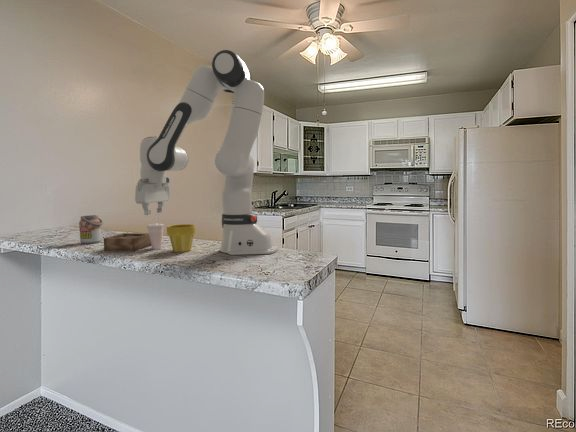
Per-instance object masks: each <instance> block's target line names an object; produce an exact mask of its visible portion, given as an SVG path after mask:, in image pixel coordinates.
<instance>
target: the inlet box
mask: <svg viewBox="0 0 576 432" xmlns="http://www.w3.org/2000/svg"><path fill="white" fill-rule="evenodd" d="M102 240H103V251H104V252H138V251H140V250H143V249H145V248H148V247H152V246H151V241H150V235H149V232H148V233H147V232H145V233H144V232H143V233H142V232H140V233H139V232H134V233H133V232H123V233H118V234H115V235H111V236H108V237H107V236H106V237H103V239H102Z"/></svg>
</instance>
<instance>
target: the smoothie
mask: <svg viewBox="0 0 576 432" xmlns="http://www.w3.org/2000/svg"><path fill="white" fill-rule="evenodd" d="M146 228H147V230H148V233H149V235H150V241H151V246H150V247H151V250H161V249H162V248H163V239H164V237H163V235H164V228H165V223H158V213H156V214H155V223H151V224H147V227H146Z"/></svg>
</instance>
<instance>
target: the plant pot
mask: <svg viewBox="0 0 576 432" xmlns="http://www.w3.org/2000/svg"><path fill="white" fill-rule="evenodd" d="M166 234H167V236H169V240H170V243H171V244H170V245H171V248H172V251H173V252H174V253H175V252H176V253H183V252H185V253H186V252H190V251H192V245H193V239H194V236H195V235H194V234H196V225H195V224H192V223H191V224H187V223H186V224H185V223H184V224H173V225H172V224H171V225H168V226H166Z"/></svg>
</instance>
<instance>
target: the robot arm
mask: <svg viewBox="0 0 576 432" xmlns="http://www.w3.org/2000/svg"><path fill="white" fill-rule="evenodd" d="M211 61H212V62H211V65H205V64H202V65H200V66H199V67H197V68H196V70H195V71H194V73H193V75H191V78H190V79H189V82H188V83H187V86H186V87H185V90H184V93H183V95H182V97H181V98H180V100H179V101H178V103H177V104H176V106H175V107H174V109H173V110H172V112H171V114H170V115H169V117H168V119H167V121H166V123H165V124H164V126H163V128H162V130H161V131H160V133H159V136H146V137H145V138H143V139H141V142H140V146H139V147H140V148H139V161H140V178H139V180H138V182H137V183H136V185H135V192H134V193H135V195H134V201H135V202H136V204H138V205H139V204H140V205H141V208H142V210H143V213H144V216H150V215H151V210H150V204H153V203H157V208H156V214H161V213H163V211H164V210H163V208H164V206H165V202H169V199H170V196H171V195H170V193H171V192H170V191H171V189H170V183H171V178H170V177H168V175H166V174H165V172H166V171H169V172H174V171H175V172H178V171H181V170H184V169H185V168H186V167H187V166H188V164H189V155H188V153H187V151H186V150H185V149H183V148H182V147H180V146H177V144H178V142H179V141H180V138H181V136H182V134H183V132H184V131H185V129H186V128H187V126H189V125H190V124H192V123H193V122H197V121H202V120H203V119H205V118H207V117H208V115H209V114H210V112H211V110H212V108H213V106H214V103H215V102H216V100H217V97H218V95H219V94H220V92H221V91H224V92H225V93H232V94H233V95H234V99H233V104H232V109H231V112H230V118H229V123H228V127H227V131H226V134H225V136H224V138H223V140H222V143H221V146H220V148H219V150H218V151H217V153H216V154H215V156H214V157H215V158H214V165H215V168H216V169H217V171H219V173H221V174H222V175H223V176H225V181H224V186H223V187H224V188H223V189H222V190H223V191H222V214H221V227H222V236H221V238H222V239H221V243H220V248H219V251H220V252H222V253H226V254H228V255H231V256H236V255H237V256H238V255H239V256H240V255H241V256H242V255H269V254H274V253H276V252H277V251H278V249H279V247H278V245H277V244H273V238H272V235H271V233H270V232H269V231H268V230H267V229H265V228H264V227H262V226H261V225H260V224H259V223H258V214H257V215H256V214H254V213H253V207H252V195H253V194H252V193H253V190H252V189H253V184H254V183H253V182H254V171H255V170H254V169H255V160H254V158H253V156H252V154H251V151H252V148H253V146H254V143H255V141H256V139H257V137H258V134H259V128H260V125H261V121H262V116H263V111H264V103H265V89H264V87H263V85H261V83H259V82H258V81H256V80H253V78H252V73H251V71H250V70H249V69H248V66H247V65H246V63H245V62H244V61H243V60H242V59H241V57H240V56H239V55H238V54H237V53H236V52H234V51H231V50H229V49H223V50H220V51H218V52H217V53H216V54H215V55H214V56H213V59H212V60H211Z"/></svg>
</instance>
